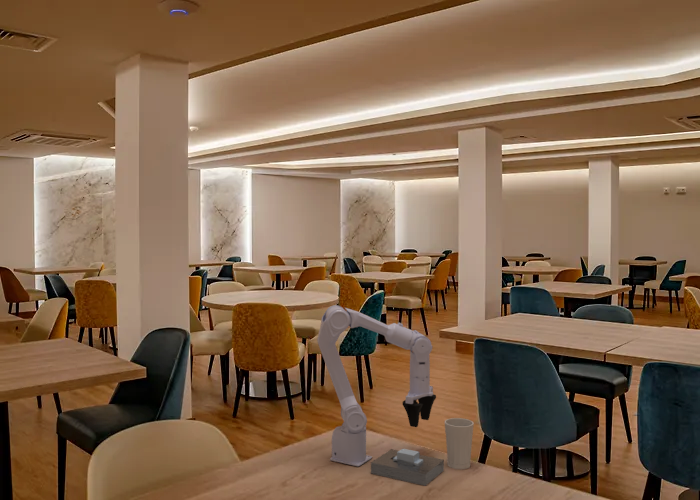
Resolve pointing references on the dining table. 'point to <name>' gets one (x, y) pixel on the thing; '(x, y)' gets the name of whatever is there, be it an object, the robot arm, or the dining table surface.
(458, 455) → the cup
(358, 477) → the dining table surface
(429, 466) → the chassis
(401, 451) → the block
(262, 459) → the dining table surface
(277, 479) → the dining table surface
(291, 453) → the dining table surface
